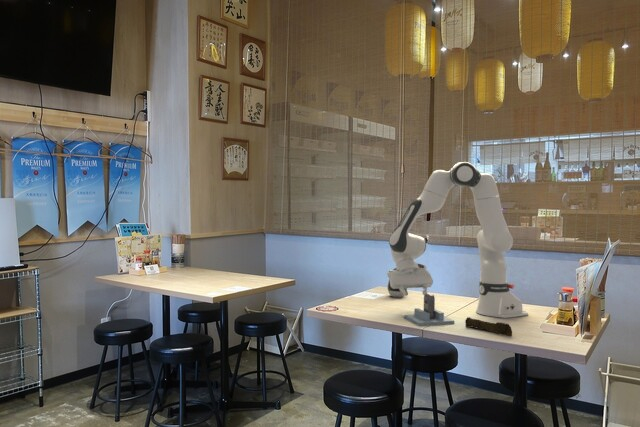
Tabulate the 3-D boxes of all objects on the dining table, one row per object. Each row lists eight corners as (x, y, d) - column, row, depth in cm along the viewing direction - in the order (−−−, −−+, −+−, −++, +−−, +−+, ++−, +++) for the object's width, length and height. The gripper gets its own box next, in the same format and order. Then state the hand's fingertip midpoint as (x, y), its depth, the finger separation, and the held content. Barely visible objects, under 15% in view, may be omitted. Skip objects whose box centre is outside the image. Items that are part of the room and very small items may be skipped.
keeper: (437, 315, 210) (437, 306, 210) (454, 323, 197) (454, 313, 197) (404, 317, 206) (404, 307, 206) (418, 325, 193) (419, 315, 193)
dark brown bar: (464, 327, 192) (464, 316, 192) (470, 325, 195) (470, 314, 194) (507, 338, 177) (508, 326, 177) (513, 336, 180) (513, 324, 180)
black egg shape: (404, 294, 258) (404, 266, 258) (408, 298, 248) (409, 269, 248) (385, 294, 258) (385, 266, 257) (389, 298, 247) (390, 269, 247)
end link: (429, 316, 204) (430, 293, 203) (434, 318, 200) (434, 294, 200) (423, 316, 203) (423, 293, 203) (427, 319, 199) (428, 295, 199)
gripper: (388, 266, 217) (396, 291, 208) (428, 265, 223) (438, 289, 213) (384, 274, 222) (392, 299, 213) (424, 273, 227) (433, 297, 218)
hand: (415, 294), depth 213 cm, fingers open, 8 cm apart
